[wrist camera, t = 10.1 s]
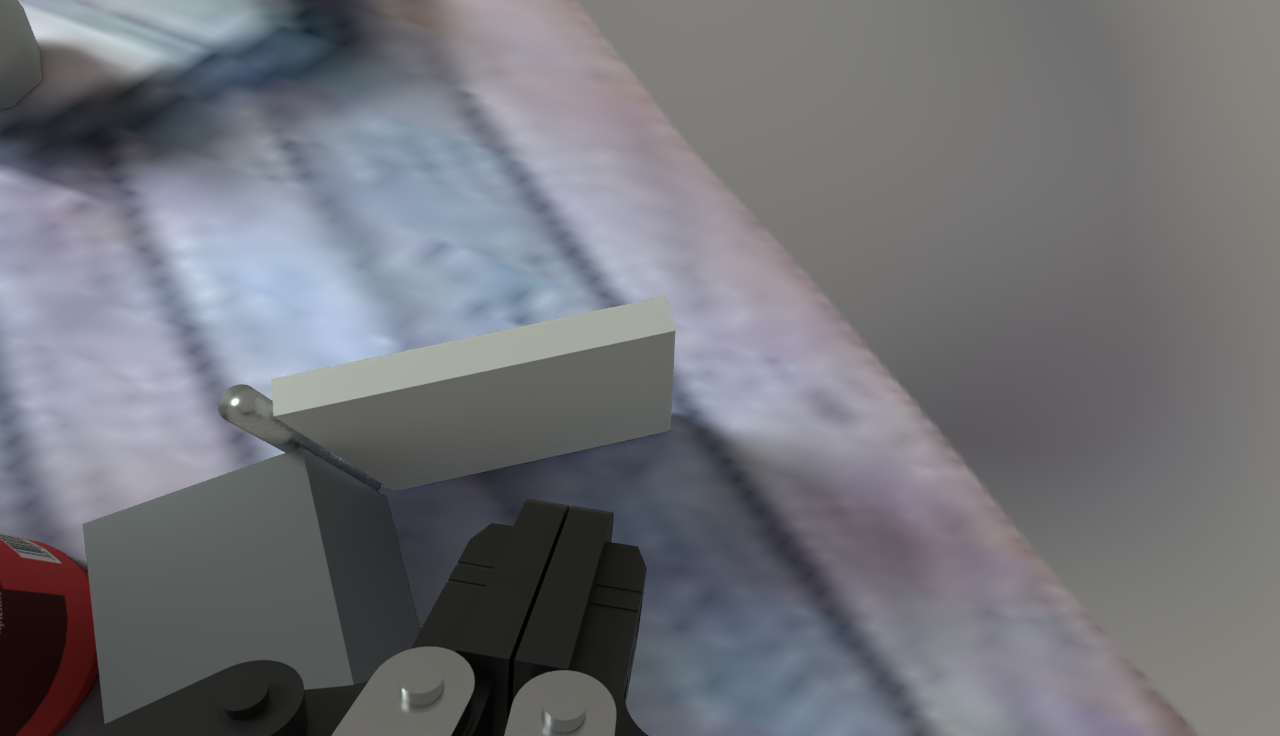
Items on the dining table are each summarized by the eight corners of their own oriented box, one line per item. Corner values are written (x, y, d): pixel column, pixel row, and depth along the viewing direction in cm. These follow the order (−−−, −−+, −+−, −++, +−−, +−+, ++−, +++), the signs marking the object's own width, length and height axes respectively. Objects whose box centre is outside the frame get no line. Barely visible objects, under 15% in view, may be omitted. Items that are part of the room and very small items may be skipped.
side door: (394, 491, 28) (273, 416, 19) (389, 444, 28) (269, 350, 20) (670, 430, 28) (675, 330, 19) (659, 385, 29) (659, 269, 20)
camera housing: (216, 521, 28) (14, 460, 19) (377, 464, 28) (254, 379, 20) (279, 893, 24) (59, 1029, 15) (467, 815, 24) (360, 904, 16)
